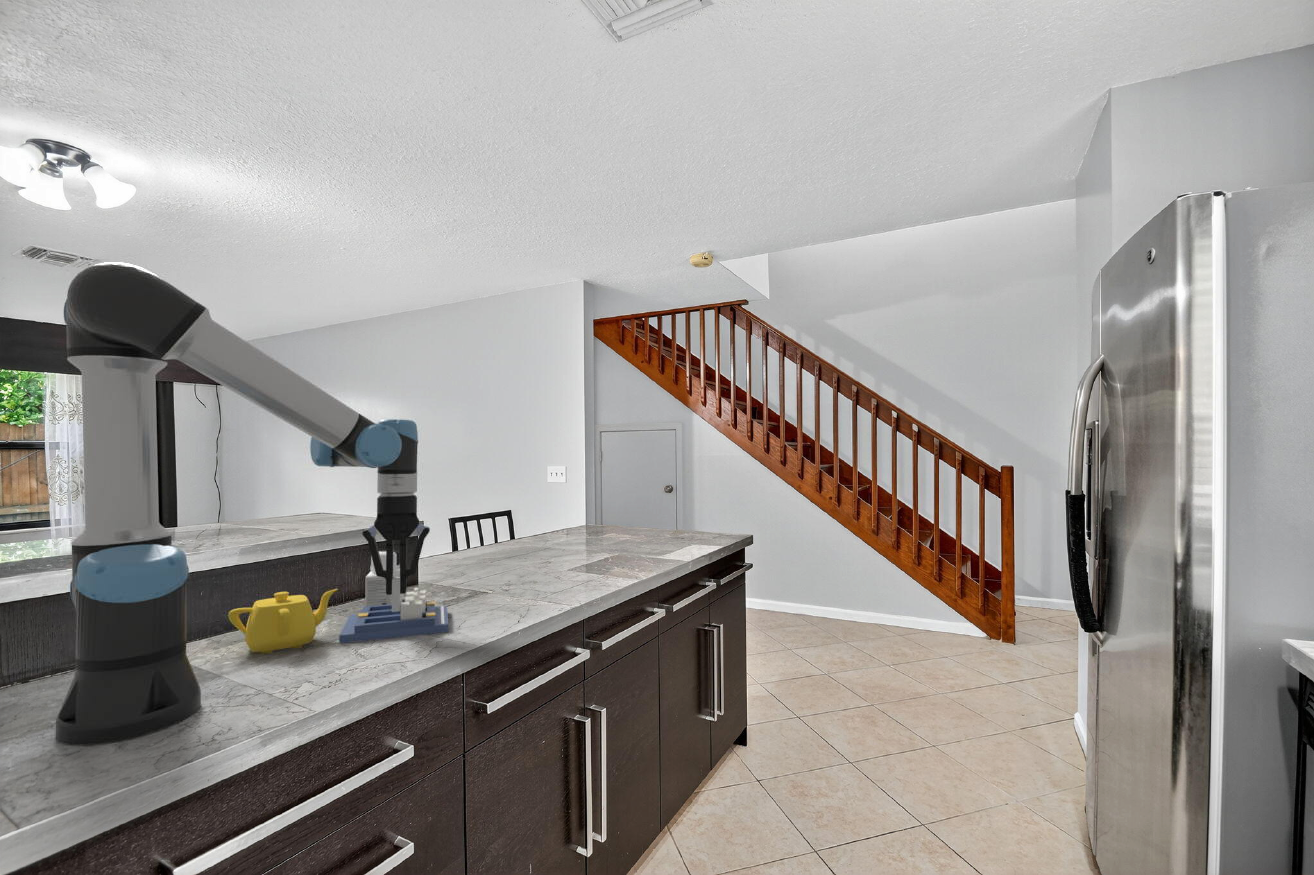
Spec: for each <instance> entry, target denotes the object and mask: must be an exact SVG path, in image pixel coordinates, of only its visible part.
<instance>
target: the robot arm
mask: <svg viewBox="0 0 1314 875" xmlns="http://www.w3.org/2000/svg"><path fill="white" fill-rule="evenodd" d="M66 294H67V295H66V297H67V298H66V299H65V302H64V305H63V306H64V307H63V320H64V323H65V325H66V327H65V328H66V356H67V357H66V359H67V361H68V363H70V364H71V365H73V367H76V368H77V369H79V371H80V372H81V398H82V400H81V401H82V403H81V406H82V440H83V441H82V442H83V445H82V446H83V485H84V487H83V488H84V490H83V492H84V493H83V494H84V495H83V496H84V528H85V529H84V530H83V531H82V533H81V534H80V535H78V536H77V537H76V538H75V539H73V540H72V541H71V578H72V579H71V581H70V584H69V591H70V592H69V593H70V599H71V601H72V603H73V605H74V608H75V609H74V610H75V656H74V657H75V663H74V664H75V666H74V670H75V671H74V676H73V678H72V680H71V684H70V685H69V687H68V688H69V689H68V691H67V693H66V695H65V698H64V700H63V702H62V705H61V707H60V709H59V712H58V715H57V717H56V720H55V739H56V741H58V743H61V744H66V745H72V746H73V745H74V746H77V745H78V746H79V745H80V746H81V745H85V746H86V745H98V744H104V743H113V742H117V741H122V740H128V739H131V738H136V737H140V736H142V735H146V734H150V733H153V732H157V731H159V730H162V729H165V728H167V727H170V726H172V725H175V724H177V723H179V722H181V721H183V720H185V719H188V718H189V717H191V716H192V715H193V714H194V713H196V712H197V711H199V709H200V707H201V704H202V697H201V696H202V690H201V686H200V684H199V681H198V679H197V677H196V675H195V672H194V670H193V668H192V666H191V662H190V660H189V657H188V655H187V615H188V614H187V613H188V610H187V609H188V608H187V607H188V606H187V605H188V603H187V602H188V601H187V600H188V598H187V596H188V593H187V592H188V591H187V590H188V576H189V573H190V569H189V566H188V560H187V555H186V553H185V552H184V550H182V549H180V548H178V547H175V546H173V544H172V532H171V531H170V530H168V529H167V528H166V527H164V526H163V525H162V524H161V523H160V516H159V514H160V513H159V509H160V508H159V507H160V506H159V474H158V473H159V472H158V470H159V467H158V463H159V462H158V433H157V432H158V430H157V429H158V428H157V426H158V425H157V424H158V422H157V390H156V389H157V388H156V387H157V386H156V385H157V384H156V375H157V374H158V373H159V372H161V371H162V370H163V369H164V368H166V367H167V366H168V360H177V361H179V362H181V363H182V364H185V365H186V366H188V367H190V368H191V369H193V370H195V371H196V372H199V373H200V374H202V375H204V376H205V377H207V378H209V379H210V380H212V381H214V382H215V383H217V384H220V385H221V386H223V387H225V389H226V388H227V389H228V390H230V391H231V392H233V393H235V394H237V395H238V396H240V397H242V398H243V399H246V400H247V401H248V402H251V403H253V404H254V405H256V406H258V407H259V408H261V409H263V410H265V411H266V412H268V413H270V414H271V415H273V416H275V417H277V418H278V419H280V420H282V421H283V422H286V424H287V423H288V424H289V425H291V426H293V427H294V428H296V429H297V430H300V431H301V432H303V433H304V434H306V435H309V437H311V439H310V445H309V448H310V457H311V460H312V462H313V464H314V465H315V466H318V467H329V468H335V467H339V468H340V467H347V468H348V467H351V468H356V467H358V468H359V467H361V468H363V467H364V468H369V469H377V480H376V481H377V486H376V487H377V493H378V494H379V495H378V497H377V499H376V501H377V502H376V508H377V509H376V519H375V520H374V522H373V525H371V526H370V527H368V528H365V529H364V530H363V531H362V536H363V537H364V539H365V540H366V541H367V545H368V548H369V551H370V555H371V556H372V560H373V564H374V568H375V572H376V575H377V576H378V577H383V578H385V579H386V594H387V595H392V612H397V611H400V598H401V594H404V595H406V593H407V584H408V583H407V579H408V577H410V576H412V575H415V574H416V572H417V569H418V564H419V560H420V557H421V554H422V549H423V546H424V542H425V539H426V538H427V536H428V535H429V533H430V530H431V528H430V527H429V526H426V525H424V524H423V523H421V522H420V518H419V517H418V514H417V513H418V496H417V495H415V493H417V492H418V444H419V436H418V434H419V433H418V426H417V423H416V422H415V421H414V420H410V419H393V418H390V419H386V418H385V419H380V420H379V421H378V423H376V422H374V421H372V420H371V419H369V418H367V417H366V416H364V415H362V414H361V413H359V412H358V411H356V410H354V409H353V408H351V407H350V406H348V405H346V404H345V403H343V402H342V401H341V400H339V399H337V398H335V397H334V396H332V395H331V394H329V393H328V392H327V391H325V390H323V389H321V388H320V387H319V386H317V385H315V384H313V383H312V382H310V381H309V380H307V379H306V378H304V377H303V376H301V375H299V374H298V373H296V372H295V371H293V370H292V369H290V368H289V367H287V366H286V365H284V364H282V363H281V362H279V361H277V360H275V359H274V358H273V357H271V356H270V355H268V354H267V353H265V352H263V351H261V350H260V349H259V348H257V347H256V346H254V345H252V344H251V343H249V342H248V341H246V340H245V339H243V338H241V337H240V336H238V335H237V334H235V333H233V332H232V331H231V330H228V329H227V328H226V327H224V326H223V325H221V324H220V323H218V322H217V321H215V320H213V319H212V316H211V314H210V309H209V308H207V307H206V306H205V305H203V304H201V303H200V302H198V301H196V300H195V299H193V298H192V297H191V296H189V295H187V294H186V293H184V292H183V291H182V290H180V289H178V288H177V287H175V286H174V285H173V284H171V283H170V282H168V281H166V280H165V279H163V278H161V277H160V276H158V275H157V274H155V273H153V272H151V271H149V270H147V269H145V268H143V267H140V266H137V265H133V264H130V263H124V262H114V261H110V262H102V263H97V264H94V265H91V266H87V267H86V268H85V269H82V271H79V272H78V273H77V275H76V276H74V278H73V279H72V280H71V283H70V284H69V286H68V289H67V293H66ZM416 529H417V532H416V534H417V535H418V538H417V541H416V543H415V544H416V545H415V549H414V553H413V557H412V560H411V564H410V567H409V568H408V563H407V562H408V555H407V554H408V539H409V538H410V537H411V535H412V534H413V533H414V532H415V530H416ZM377 531H378V532H379V534H380V535H381V536H382V537H383V539H384V540H385V547H386V549H385V550H386V570H383V566H382V562H381V559H380V555H379V551H380V550H379V547H378V544H377V540H376V535H377ZM396 540H397V541H398V540H399V550H400V551H399V553H400V568H399V569H400V577H393V550H395V549H394V548H395V547H394V546H395V545H394V543H395V541H396Z"/></svg>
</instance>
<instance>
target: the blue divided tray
mask: <svg viewBox="0 0 1314 875" xmlns="http://www.w3.org/2000/svg"><path fill="white" fill-rule="evenodd" d="M435 605H436V601H435V600H426V606H425V612H422V618H417V619H407V620H401V603H400V611H397V612H392V604H388V605H377V606H363V607H362V608H361V611H360V612H359V613H353V614H349V615H348V618H347V620H346V622H345V624H344V626H343V628H342V630H341V631H340V632H339V638H338V644H345V643H346V644H347V643H355V642H363V641H371V640H382V639H389V638H390V639H392V638H400V637H401V638H402V637H410V636H419V635H429V634H437V633H447V632H449V619H448V617H449V616H448V606H447V605H442V606H441V605H440V606H435Z"/></svg>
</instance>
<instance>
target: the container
mask: <svg viewBox="0 0 1314 875" xmlns="http://www.w3.org/2000/svg"><path fill="white" fill-rule="evenodd" d="M378 551H379V555H380V559H381V562H382V566H383V570H386V549H383V550H381V549H380V550H378ZM369 564H370V568H369V570H370V572H369V573H368V574H367V575H366V576H365V581H364V582H365V584H364V585H365V586H364V587H365V588H364V589H365V599H364V600H365V601H364V602H365V603H364V604H365V606H377V605H388V604H392V595H387V594H386V579H385V578H383V577H378V576H377V575H376V572H375V568H374V564H373V560H372V556H371V554H370V561H369ZM393 577H400V551H398V550H396V549H394V550H393ZM404 596H405V594H401V598H400V603H402V602H404V601H403V600H404V599H405V597H404ZM365 606H364V607H365Z"/></svg>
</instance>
